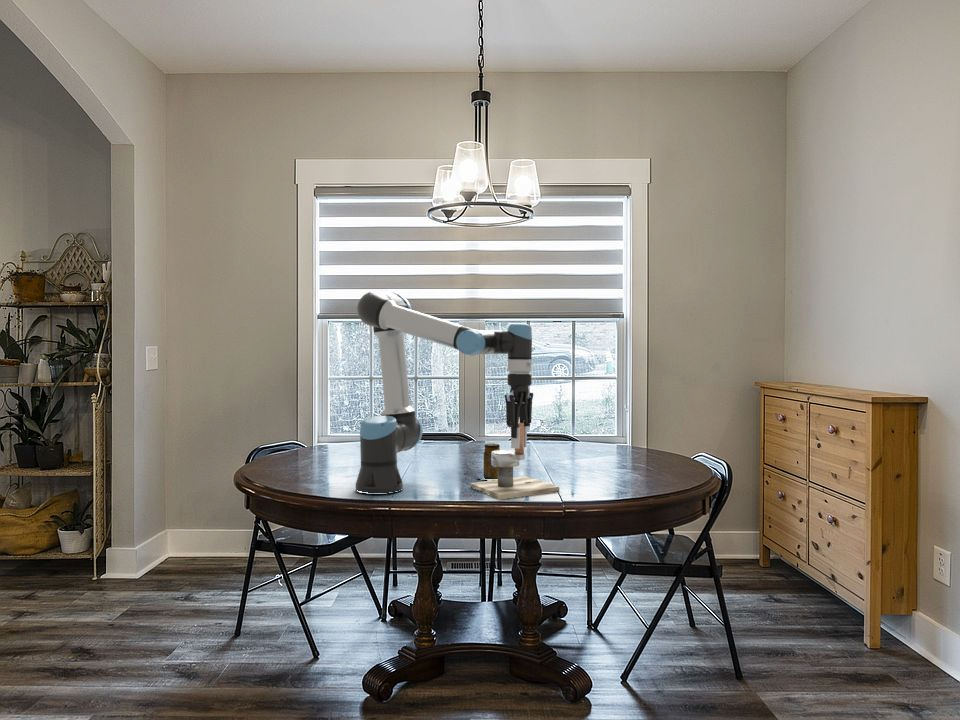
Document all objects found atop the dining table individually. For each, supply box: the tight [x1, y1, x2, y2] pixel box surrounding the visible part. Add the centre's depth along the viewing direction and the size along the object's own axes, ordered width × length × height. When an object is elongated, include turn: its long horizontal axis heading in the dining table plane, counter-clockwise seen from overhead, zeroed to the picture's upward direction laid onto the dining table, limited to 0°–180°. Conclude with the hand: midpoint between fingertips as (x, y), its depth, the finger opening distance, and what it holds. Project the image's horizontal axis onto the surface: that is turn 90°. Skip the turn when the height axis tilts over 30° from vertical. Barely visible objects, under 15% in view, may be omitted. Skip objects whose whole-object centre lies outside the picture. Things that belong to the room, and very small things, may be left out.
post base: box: [469, 467, 560, 501], centre depth 220 cm, size 19×22×8 cm
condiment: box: [482, 443, 501, 479], centre depth 237 cm, size 7×8×12 cm
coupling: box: [491, 421, 526, 468], centre depth 218 cm, size 12×10×14 cm
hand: (518, 447), depth 215 cm, fingers open, 3 cm apart
